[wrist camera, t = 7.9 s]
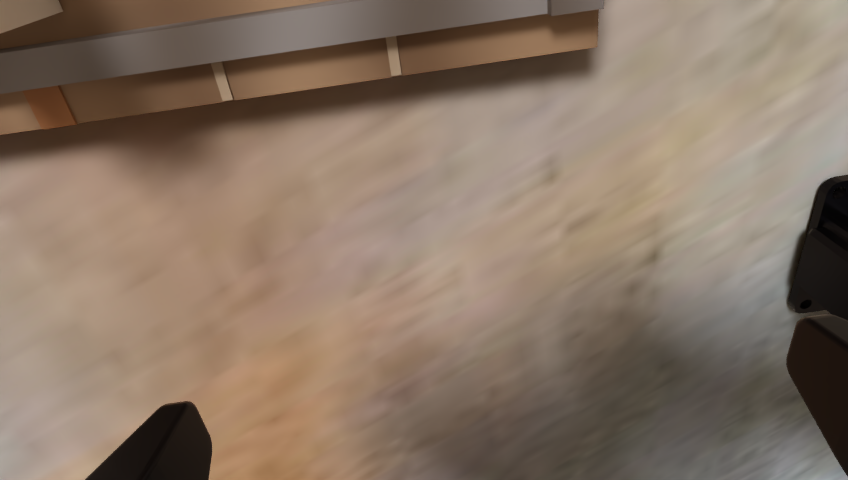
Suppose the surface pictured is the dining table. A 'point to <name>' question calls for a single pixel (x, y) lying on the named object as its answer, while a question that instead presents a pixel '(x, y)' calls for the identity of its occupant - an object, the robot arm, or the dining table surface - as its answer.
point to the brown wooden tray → (256, 50)
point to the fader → (25, 12)
